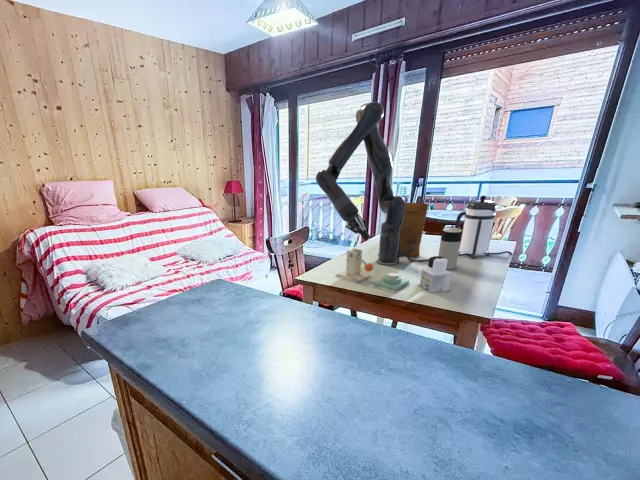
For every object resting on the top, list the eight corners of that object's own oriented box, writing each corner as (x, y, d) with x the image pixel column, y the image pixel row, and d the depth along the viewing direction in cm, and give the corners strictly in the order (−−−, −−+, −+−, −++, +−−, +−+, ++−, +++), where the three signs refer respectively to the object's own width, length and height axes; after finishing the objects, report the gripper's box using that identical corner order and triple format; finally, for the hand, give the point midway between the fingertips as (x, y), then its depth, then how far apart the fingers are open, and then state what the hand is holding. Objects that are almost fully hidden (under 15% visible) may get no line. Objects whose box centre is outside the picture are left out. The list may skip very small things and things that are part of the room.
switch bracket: (370, 277, 149) (372, 250, 144) (358, 282, 144) (360, 254, 139) (348, 271, 157) (349, 245, 153) (336, 276, 152) (337, 250, 148)
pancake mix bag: (418, 259, 168) (425, 204, 157) (383, 253, 181) (387, 202, 171) (423, 256, 172) (431, 202, 162) (389, 250, 185) (393, 200, 175)
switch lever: (372, 271, 144) (376, 266, 141) (367, 274, 142) (371, 268, 139) (352, 254, 149) (356, 248, 147) (347, 255, 147) (351, 250, 145)
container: (419, 285, 137) (423, 255, 132) (437, 283, 137) (441, 254, 132) (430, 292, 129) (434, 261, 125) (448, 290, 130) (454, 259, 125)
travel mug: (458, 269, 151) (465, 231, 144) (439, 269, 152) (445, 231, 145) (452, 264, 158) (458, 227, 151) (434, 264, 159) (440, 227, 153)
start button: (390, 275, 139) (390, 272, 138) (399, 278, 136) (399, 274, 135) (385, 278, 137) (385, 274, 136) (394, 280, 134) (394, 276, 133)
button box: (388, 280, 144) (389, 271, 143) (408, 285, 138) (409, 276, 136) (374, 287, 138) (375, 278, 136) (394, 292, 131) (395, 283, 130)
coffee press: (489, 251, 172) (501, 193, 161) (489, 260, 160) (503, 197, 149) (451, 248, 181) (460, 193, 170) (449, 256, 169) (459, 197, 158)
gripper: (341, 204, 136) (364, 236, 132) (359, 199, 144) (382, 230, 139) (330, 215, 142) (353, 247, 138) (349, 211, 150) (371, 241, 145)
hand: (368, 238), depth 139 cm, fingers closed
